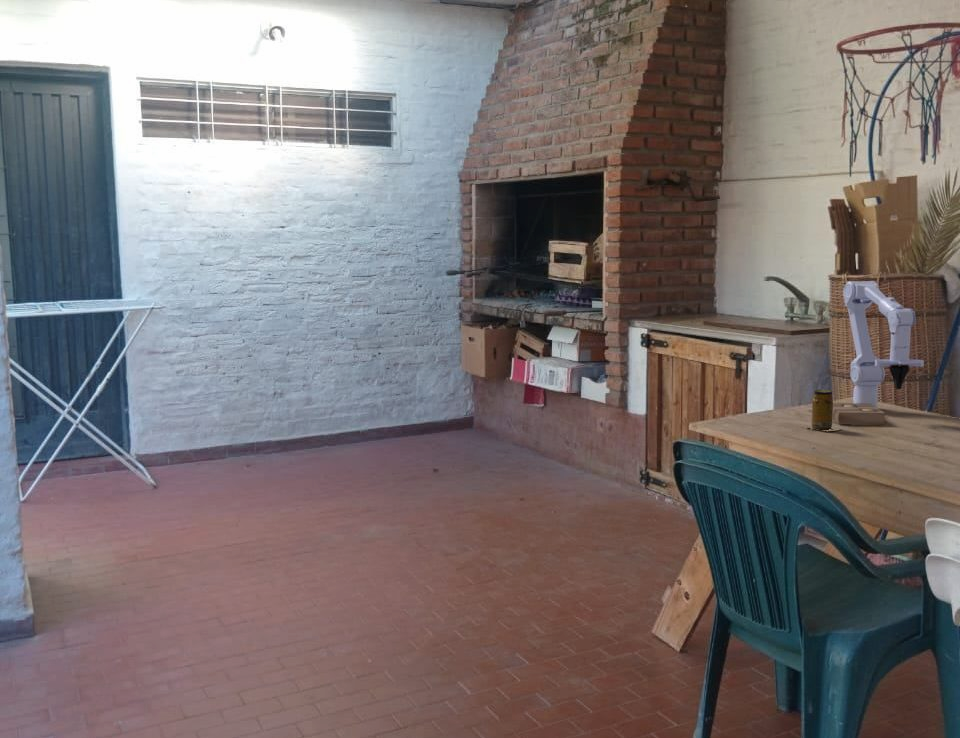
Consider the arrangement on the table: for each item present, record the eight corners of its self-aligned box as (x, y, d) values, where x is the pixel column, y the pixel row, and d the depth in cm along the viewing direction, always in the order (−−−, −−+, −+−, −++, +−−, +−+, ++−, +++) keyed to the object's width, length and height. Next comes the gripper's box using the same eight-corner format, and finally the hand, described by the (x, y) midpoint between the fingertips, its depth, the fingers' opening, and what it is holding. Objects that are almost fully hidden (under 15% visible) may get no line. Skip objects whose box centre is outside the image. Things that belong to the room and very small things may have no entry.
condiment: (818, 425, 315) (819, 388, 314) (842, 429, 309) (844, 391, 307) (805, 428, 311) (806, 391, 309) (829, 433, 304) (831, 394, 303)
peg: (841, 416, 328) (842, 404, 328) (853, 416, 328) (853, 404, 327) (844, 419, 325) (845, 406, 324) (856, 419, 324) (856, 407, 324)
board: (826, 414, 332) (827, 402, 331) (870, 415, 330) (870, 403, 330) (838, 424, 316) (838, 412, 316) (884, 425, 315) (884, 412, 314)
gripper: (880, 348, 315) (878, 390, 317) (927, 348, 314) (925, 390, 316) (873, 345, 322) (871, 386, 324) (920, 345, 320) (918, 387, 323)
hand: (897, 388), depth 320 cm, fingers closed
